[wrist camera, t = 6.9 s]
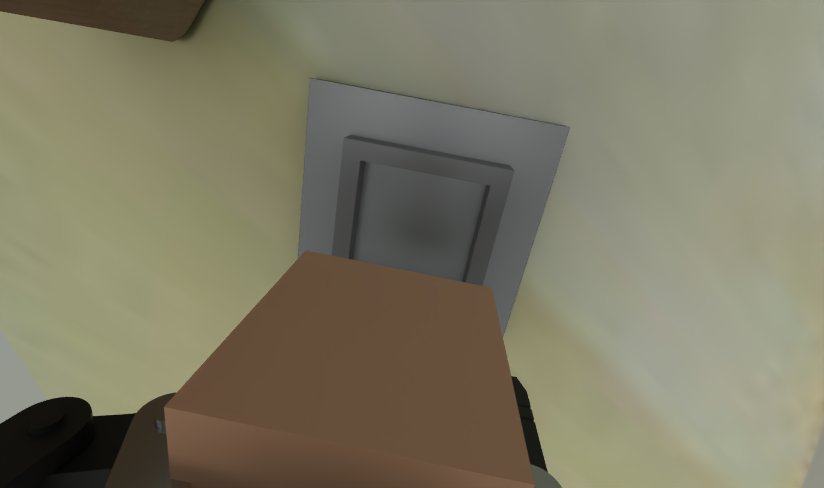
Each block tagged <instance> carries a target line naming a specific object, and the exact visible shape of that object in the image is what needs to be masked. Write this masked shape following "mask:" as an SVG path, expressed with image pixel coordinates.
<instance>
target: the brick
mask: <svg viewBox="0 0 824 488" xmlns="http://www.w3.org/2000/svg"><path fill="white" fill-rule="evenodd" d="M164 413H165V424H166V435H167V446H168V457H169V468H170V479H175V480H179V481H184V482H189V483H191V488H534V485H535V484H534V480H533V475H532V470H531V466H530V461H529V457H528V452H527V447H526V443H525V438H524V433H523V429H522V424H521V420H520V415H519V410H518V406H517V401H516V397H515V392H514V387H513V383H512V378H511V373H510V369H509V364H508V360H507V355H506V350H505V346H504V341H503V336H502V332H501V327H500V323H499V318H498V313H497V309H496V304H495V300H494V295H493V290H492V288H490V287H485V286H481V285H476V284H471V283H466V282H461V281H456V280H451V279H446V278H441V277H436V276H431V275H426V274H421V273H416V272H411V271H406V270H401V269H396V268H391V267H386V266H381V265H376V264H371V263H366V262H361V261H356V260H351V259H346V258H341V257H337V256H332V255H327V254H322V253H317V252H312V251H307V250H306V251H305V252H304V253H303V254H302V255H301V256H300V257H299V258H298V260H297V261H296V262H295V263H294V264H293V265H292V266H291V267H290V268H289V270H288V271H287V272H286V273H285V274H284V275H283V276H282V277H281V278H280V279H279V281H278V282H277V283H276V284H275V285H274V286H273V287H272V288H271V289H270V290H269V292H268V293H267V294H266V295H265V296H264V297H263V298H262V299H261V300H260V302H259V303H258V304H257V305H256V306H255V307H254V308H253V309H252V310H251V311H250V313H249V314H248V315H247V316H246V317H245V318H244V319H243V320H242V321H241V322H240V324H239V325H238V326H237V327H236V328H235V329H234V330H233V331H232V332H231V334H230V335H229V336H228V337H227V338H226V339H225V340H224V341H223V342H222V343H221V345H220V346H219V347H218V348H217V349H216V350H215V351H214V352H213V353H212V354H211V356H210V357H209V358H208V359H207V360H206V361H205V362H204V363H203V364H202V365H201V367H200V368H199V369H198V370H197V371H196V372H195V373H194V374H193V375H192V377H191V378H190V379H189V380H188V381H187V382H186V383H185V384H184V385H183V386H182V388H181V389H180V390H179V391H178V392H177V393H176V394H175V395H174V396H173V397H172V399H171V400H170V401H169V402H168V403H167V404H166V405H165V406H164Z"/></svg>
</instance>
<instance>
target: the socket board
mask: <svg viewBox="0 0 824 488" xmlns="http://www.w3.org/2000/svg"><path fill="white" fill-rule="evenodd" d="M569 130H570V127H566V126H562V125H557V124H552V123H546V122H541V121H536V120H531V119H525V118H520V117H515V116H510V115H504V114H499V113H494V112H489V111H483V110H478V109H473V108H468V107H462V106H457V105H452V104H446V103H441V102H436V101H431V100H425V99H420V98H415V97H410V96H404V95H399V94H394V93H389V92H383V91H378V90H373V89H368V88H362V87H357V86H352V85H347V84H341V83H336V82H331V81H326V80H320V79H314V78H310V85H309V100H308V115H307V130H306V145H305V160H304V175H303V190H302V205H301V220H300V235H299V250H298V258H299V257H300V256H301V255H302V254H303V253H304V252H305V251H306V250H307V251H312V252H317V253H322V254H327V255H332V256H337V257H341V258H346V259H351V260H356V261H361V262H366V263H371V264H376V265H381V266H386V267H391V268H396V269H401V270H406V271H411V272H416V273H421V274H426V275H431V276H436V277H441V278H446V279H451V280H456V281H461V282H466V283H471V284H476V285H481V286H485V287H490V288H492V290H493V295H494V300H495V304H496V309H497V313H498V318H499V323H500V327H501V332H502V336H503V335H504V332H505V329H506V326H507V323H508V320H509V317H510V314H511V310H512V307H513V304H514V301H515V298H516V295H517V292H518V289H519V286H520V282H521V279H522V276H523V273H524V270H525V267H526V264H527V261H528V257H529V254H530V251H531V248H532V245H533V242H534V239H535V236H536V232H537V229H538V226H539V223H540V220H541V217H542V214H543V211H544V208H545V204H546V201H547V198H548V195H549V192H550V189H551V186H552V183H553V179H554V176H555V173H556V170H557V167H558V164H559V161H560V158H561V154H562V151H563V148H564V145H565V142H566V139H567V136H568V133H569Z"/></svg>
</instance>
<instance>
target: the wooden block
mask: <svg viewBox="0 0 824 488" xmlns="http://www.w3.org/2000/svg"><path fill="white" fill-rule="evenodd" d="M204 1H205V0H0V11H2V12H8V13H13V14H19V15H24V16H30V17H36V18H41V19H47V20H53V21H58V22H64V23H70V24H75V25H81V26H86V27H92V28H98V29H103V30H109V31H115V32H120V33H126V34H132V35H137V36H143V37H148V38H154V39H160V40H165V41H171V42H173V41H175V40H177V39H179V38H180V37H182V36H183V35H184V34H185V33H187V31H188V29H189V28H190V26H191V24H192V22H193V21H194V19H195V17H196V15H197V14H198V12H199V10H200V8H201V7H202V5H203V3H204Z"/></svg>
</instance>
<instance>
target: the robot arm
mask: <svg viewBox="0 0 824 488" xmlns="http://www.w3.org/2000/svg"><path fill="white" fill-rule="evenodd" d="M511 378H512V383H513V387H514V392H515V397H516V401H517V406H518V410H519V415H520V420H521V424H522V429H523V433H524V438H525V443H526V447H527V452H528V457H529V461H530V466H531V470H532V475H533V480H534V484H535V485H534V488H562V487H561V485H560V484H559V483H558V482H557V480H556V479H555V478H554V477H553V476H551V475H550V474H549V473H548V471H547V468H546V464H545V460H544V456H543V453H542V449H541V445H540V441H539V437H538V433H537V429H536V425H535V422H534V418H533V414H532V410H531V409H530V407H531V406H530V402H529V398H528V394H527V391H526V390H525V388H524V387H523V386H522V384H521V383H520V381H519V380H518V379H517V377H513V376H511ZM175 394H176V393H170V394H166V395H163V396H160V397H158V398H156V399H153V400H152V401H150V402H148V403H147V404H145V405H144V406H143V407H142V408H141V409H140V410H139V411H138V412H137V413H133V414H122V415H106V416H93V415H92V409H91V406H90V404H89V403H88V402H87V401H85V400H83V399H80V398H76V397H60V398H54V399H50V400H46V401H43V402H40V403H37V404H35V405H32V406H30V407H28V408H26V409H25V410H23V411H21V412H19V413H17V414H16V415H14V416H12V417H11V418H9V419H8V420H6V421H4V422H2V423H1V424H0V488H191V483H189V482H184V481H179V480H175V479H170V468H169V457H168V446H167V435H166V424H165V413H164V406H165V405H166V404H167V403H168V402H169V401H170V400H171V399H172V397H173V396H174V395H175Z"/></svg>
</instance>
